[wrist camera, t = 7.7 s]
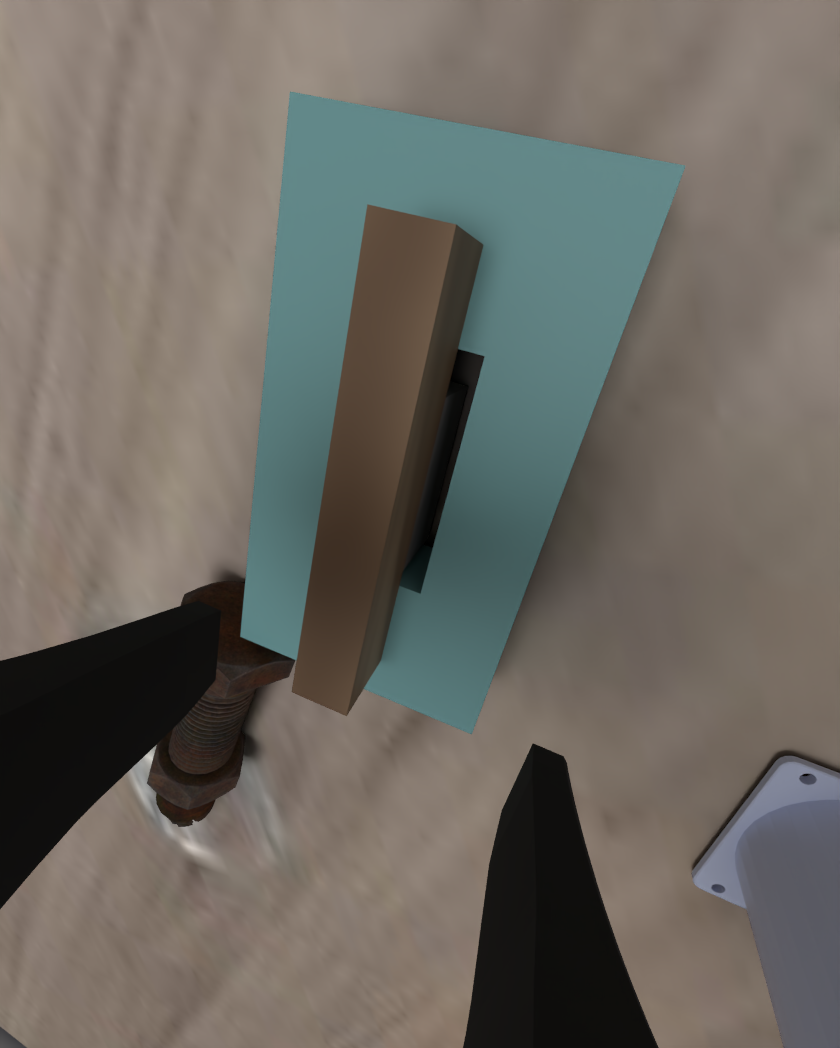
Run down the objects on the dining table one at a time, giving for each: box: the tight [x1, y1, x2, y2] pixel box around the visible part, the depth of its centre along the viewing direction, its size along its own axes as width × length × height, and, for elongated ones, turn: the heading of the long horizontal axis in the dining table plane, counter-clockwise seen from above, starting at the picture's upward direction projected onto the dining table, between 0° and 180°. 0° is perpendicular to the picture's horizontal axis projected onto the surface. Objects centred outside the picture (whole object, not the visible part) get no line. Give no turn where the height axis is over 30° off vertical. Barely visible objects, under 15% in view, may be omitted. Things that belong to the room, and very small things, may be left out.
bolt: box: [147, 581, 295, 827], centre depth 26 cm, size 6×5×15 cm
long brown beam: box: [292, 204, 483, 716], centre depth 16 cm, size 2×14×6 cm, turn 167°
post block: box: [240, 92, 685, 734], centre depth 18 cm, size 10×18×4 cm, turn 167°
